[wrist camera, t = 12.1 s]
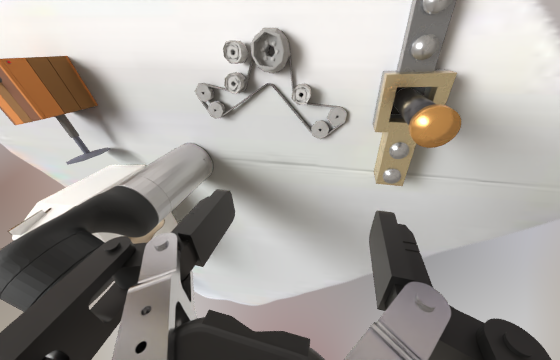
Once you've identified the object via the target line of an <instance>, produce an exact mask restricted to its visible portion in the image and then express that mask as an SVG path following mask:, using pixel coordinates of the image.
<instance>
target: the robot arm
mask: <svg viewBox="0 0 560 360" xmlns="http://www.w3.org/2000/svg"><path fill="white" fill-rule="evenodd" d="M212 171H213V163H212V160H211V158H210V156H209V155H208V154H207V152H206V151H205V150H204V149H202V148H201V147H199V146H198V145H195V144H192V143H186V144H183V145H181V146H180V147H178V148H175V149H173V150H172V151H170V152H168V153H167V154H165V155H163V156H162V157H160V158H159V159H157V160H155V161H154V162H152V163H150V164H149V165H147V166H145V167H144V168H143V169H142V170H140V171H138V172H137V173H135V174H134V175H132V176H130V177H129V178H127V179H125V180H124V181H122V182H121V183H119V184H117V185H116V186H114V187H112V188H111V189H109V190H107V191H105V192H103V193H100V194H98V195H96V196H94V197H92V198H90V199H88V200H87V201H85V202H83V203H81V204H80V205H78V206H76V207H74V208H72V209H71V210H69V211H67V212H65V213H63V214H61V215H59V216H58V217H56V218H54V219H52V220H50V221H48V222H46V223H44V224H42V225H40V226H39V227H37V228H35V229H33V230H31V231H30V232H28V233H26V234H24V235H23V236H21V237H19V238H18V239H16V240H15V241H13V242H12V243H10V244H8V245H7V246H5V247H4V248H2V249H1V250H0V299H1V300H3V301H5V302H7V303H9V304H11V305H12V306H14V307H16V308H18V309H20V310H22V311H23V312H24V313H23V314H21V315H20V316H19V317H18V318H17V319H16V320H14V321H13V322H12V323H11V324H10V325H9V326H8V327H6V328H5V329H4V330H3V331H2V332H1V333H0V360H91V359H92V358H93V357H94V355H95V354H96V353H97V352H98V350H99V349H100V347H101V346H102V345H103V343H104V342H105V341H106V340H107V338H108V337H109V336H110V334H111V333H112V332H113V330H114V329H115V328H116V327H117V325H118V324H119V323H120V321H121V323H120V327H119V331H118V336H117V340H116V344H115V349H114V353H113V357H112V360H325V359H324V358H323V357H321V355H319V354H318V353H317V352H316V351H314V350H313V349H312V348H310V339H308V338H305V337H301V336H298V335H294V334H291V333H288V332H284V331H265V332H255V331H252V330H251V329H249V328H248V327H246V326H245V325H243V324H242V323H240V322H239V321H238V320H236V319H235V318H233V317H232V316H229V315H226V314H222V313H219V312H215V311H212V310H209V311H208V313H207V315H206V317H203V318H197V316H196V312H195V306H194V289H193V272H192V269H193V267H194V266H195V265H197V266H201V267H203V266H204V265H205V263H206V262H207V260H208V259H209V257H210V255H211V254H212V252H213V251H214V249H215V248H216V246H217V245H218V243H219V242H220V240H221V238H222V237H223V235H224V234H225V232H226V231H227V229H228V228H229V226H230V225H231V223H232V221H233V220H234V216H235V209H234V204H233V199H232V194H231V192H230V191H227V190H219V189H217V190H216V191H215V192H214V193H213V194H212V195H211V196H210V197H206V198H205V199H203V200H201V201H200V202H199V203H198V204H197V205H196V206H195V207H194V209H192V210H191V211H190V213H189V214H188V215H187V216H186V217H185V218H184V219H183V220H182V221H181V222H180V223H179V224H178V225H177V226H176V227H175V228H174V229H173V230H172V231H171V232H170V233H162V234H159V235H157V236H155V237H154V238H152V239H151V240H150V241H149V242H147V243H136V244H133V243H132V241H131V240H130V238H129V237H135V238H137V237H143V236H145V235H147V234H148V233H149V232H150V231H152V230H153V229H154V228H155V227H156V226H157V225H158V224H159V223H160V222H161V221H162V220H163V219H164V218H165V217H166V216H167V215H168V214H169V213H170V212H171V211H172V210H174V209H175V208H176V207H177V206H178V205H179V204H180V203H181V202H182V201H183V200H184V199H185V198H186V197H187V196H188V195H189V194H190V193H192V192H193V191H194V190H195V189H196V188H197V187H198V186H199V185H200V184H201V183H202V182H203V181H204V180H205V179H206V178H207V177H208V176H210V174H211V173H212ZM93 233H114V234H119V235H123V236H120V237H116V238H113V239H111V240H109V241H107V242H103V241H102V240H100V239H99V238H97V237H96V236H94V235H93ZM126 236H128V237H126ZM416 244H417V243H416V240H415V238H414V235H413V233H412V232H411V231H410V230H409V229H408V228H407V226H406V225H402V224H397V221H396V217H395V214H394V213H392V212H384V211H376V213H375V217H374V220H373V224H372V227H371V231H370V237H369V245H370V253H371V261H372V269H373V277H374V285H375V293H376V300H377V309H379V310H383V311H385V312H384V313H383V315H382V316H381V317H380V318H379V320H378V321H377V322H376V323H373V324H372V325H371V326H370V327H369V329H368V330H367V331H366V333H365V334H364V335H363V336H362V337H361V339H360V340H359V341H358V342H357V344H356V345H355V346H354V348H353V349H352V350H351V351H350V353H349V354H348V355H347V356H346V358H345V359H344V360H551V358H550V357H549V355H548V354H547V352H546V351H545V349H544V348H543V347H542V346H541V345H540V343H539V342H538V341H537V340H536V339H535V338H534V337H532V336H531V335H530V334H529V333H527V332H526V331H525V330H523V329H522V328H520V327H519V326H517V325H515V324H513V323H511V322H508V321H505V320H502V319H490V320H488V321H487V322H486V323H483V322H481V321H479V320H477V319H475V318H473V317H471V316H469V315H466V314H464V313H462V312H460V311H458V310H456V309H454V308H453V307H451V306H450V305H449V304H448V302H447V301H446V299H445V298H444V297H443V296H442V295H441V294H440V293H439V292H438V291H437V290H435V289H434V288H433V286H432V284H431V281H430V279H429V276H428V273H427V270H426V268H425V265H424V262H423V259H422V257H421V254H420V253H419V252H420V251H419V249H418V246H417V245H416ZM113 281H115V283H114V284H113V285H112V286H111V288H110V289H109V290H108V291H107V292H106V293H105V294H104V295H103V296H102V297H101V299H100V300H99V301H98V302H97V303H96V304H95V305H94V306H93V307H92V308H91V310H89V305H90V304H91V303H92V302H93V301H94V300H96V299H97V298H98V297H99V296H100V295H101V294H102V293H103V292H104V291H105V290H106V289H107V287H109V285H110V284H111V283H112V282H113Z"/></svg>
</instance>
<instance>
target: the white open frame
mask: <svg viewBox="0 0 560 360" xmlns="http://www.w3.org/2000/svg"><path fill="white" fill-rule="evenodd" d="M145 166H146V165H110V166H108V167H106V168H104V169H102V170H100V171H98V172H96V173H94V174H92V175H90V176H88V177H86V178H84V179H82V180H80V181H78V182H76V183H74V184H72V185H70V186H68V187H66V188H65V189H63V190H61V191H59V192H57V193H55V194H53V195H51V196H49V197H47V198H45V199H43V200H41V201H39V202H38V203H37V204H36V205H35V207H34V208H33V209H32V211H31V212H30V213H29V214H28V216H27V217H26V218H25V220H24V221H23V222H21V223H20V224H18V225H17V226H15V227H13V228H12V229H10V230H9V231H8V232H9V233H10V234H11V235H13V236H12V239H13V240H16V239H18V238H19V237H21V236H23V235H24V234H26V233H28V232H30V231H31V230H33V229H35V228H37V227H39V226H40V225H42V224H44V223H46V222H48V221H50V220H52V219H54V218H56V217H58V216H59V215H61V214H63V213H65V212H67V211H69V210H71V209H72V208H74V207H76V206H78V205H80V204H81V203H83V202H85V201H87V200H88V199H90V198H92V197H94V196H96V195H98V194H100V193H103V192H105V191H107V190H109V189H111V188H112V187H114V186H116V185H117V184H119V183H121V182H122V181H124V180H125V179H127V178H129V177H130V176H132V175H134V174H135V173H137V172H138V171H140V170H142V169H143V168H144V167H145ZM177 225H178V223H177V221H176V219H175V218H174V216H173V214H172V212H170V213H169V214H168V215H167V216H166V217H165V218H164V219H163V220H162V221H161V222H160V223H159V224H158V225H157V226H156V227H155V228H154V229H153V230H152V231H150V232H149V233H148V234H147V235H145V236H143V237H137V238H135V237H129V238H130V240H131V241H132V243H133V244H136V243H147V242H149V241H150V240H151V239H152V238H154V237H155V236H157V235H159V234H162V233H170V232H171V231H172V230H173V229H174V228H175V227H176V226H177ZM93 235H94V236H96V237H97V238H99V239H100V240H102V241H103V242H107V241H109V240H111V239H113V238H116V237H120V236H123V235H119V234H114V233H93ZM126 237H128V236H126ZM3 248H4V247H3ZM0 250H1V249H0Z"/></svg>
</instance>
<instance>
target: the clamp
mask: <svg viewBox="0 0 560 360" xmlns="http://www.w3.org/2000/svg"><path fill="white" fill-rule="evenodd" d="M94 106H98V104H97V103H96V101H95V100H94V98H93V96H92V95H91V93H90V92H89V90H88V88H87V87H86V85H85V84H84V82H83V80H82V79H81V77H80V76H79V74H78V72H77V71H76V69H75V68H74V66H73V64H72V63H71V61H70V60H69V58H68V56H55V57H32V58H9V59H0V108H1V110H2V111H3V112H4V113H5V114H6V115H7V117H8V118H9V119H10V120H11V121H12V122H13V124H14V125H18V124H23V123H28V122H32V121H37V120H41V119H46V118H50V117H56V118H57V120H58V121H59V122H60V124H61V125H62V126H63V128H64V129H65V130H66V132H67V133H68V134H69V136H70V137H71V138H73V139H74V140H75V142H76V143H77V144H78V146H79V147H80V148H81V150H82V151H83V152H84V154H83V155H80V156H78V157H76V158H74V159H72V160H70V161H68V162H66V163H67V164H72V163H76V162H81V161H84V160H87V159H90V158H92V157H95V156H98V155H100V154H102V153H104V152H106V151H108V150H109V149H110V148H103V149H99V150H95V151H92V152H90V151H89V150H88V149H87V147H86V146H85V144H84V143H83V142H82V140H81V139H80V138H79V134H78V133H77V131H76V130H75V129H74V127H73V126H72V124H71V123H70V122H69V120H68V119H67V117H66V116H65V115H64V114H66V113H70V112H74V111H78V110H82V109H86V108H90V107H94Z"/></svg>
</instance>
